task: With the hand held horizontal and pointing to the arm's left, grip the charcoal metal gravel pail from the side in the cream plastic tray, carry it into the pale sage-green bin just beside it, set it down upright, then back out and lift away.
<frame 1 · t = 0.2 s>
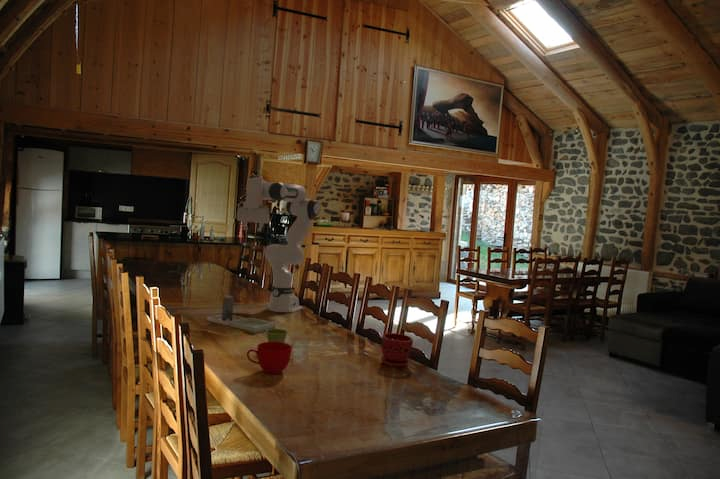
hand: (252, 230, 294), 48 cm above the table, tool pointing down, fingers open, 8 cm apart
plant pot 2: (395, 364, 232), on the table
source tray: (226, 322, 283), on the table
plant pot: (275, 351, 238), on the table
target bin: (252, 328, 275), on the table
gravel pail: (226, 320, 283), point 1 cm above the table, touching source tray
ceramic cup: (267, 372, 209), on the table
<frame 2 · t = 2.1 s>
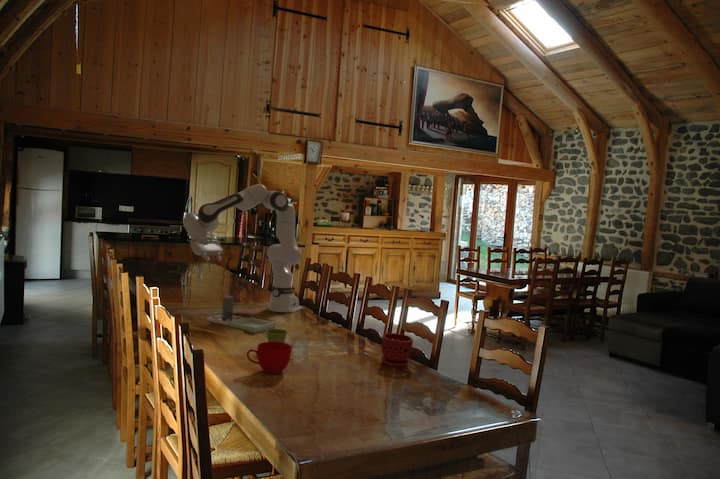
hand: (214, 260, 288), 31 cm above the table, tool tilted 45°, fingers open, 8 cm apart
nothing on the table moved.
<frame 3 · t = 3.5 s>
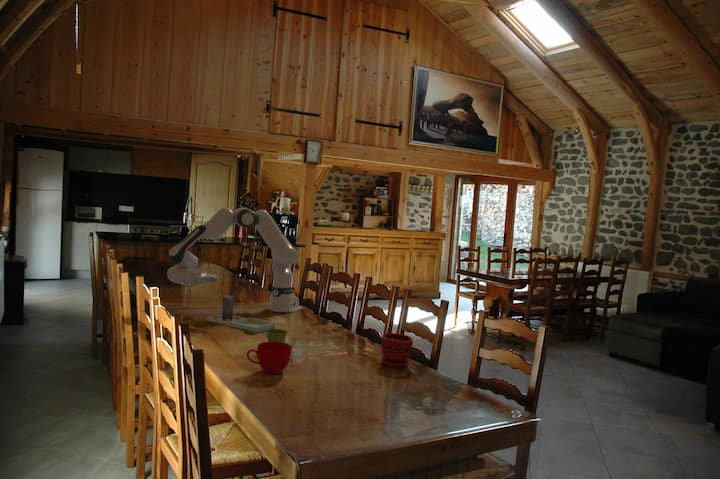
hand: (211, 281, 287), 20 cm above the table, tool horizontal, fingers open, 8 cm apart
nothing on the table moved.
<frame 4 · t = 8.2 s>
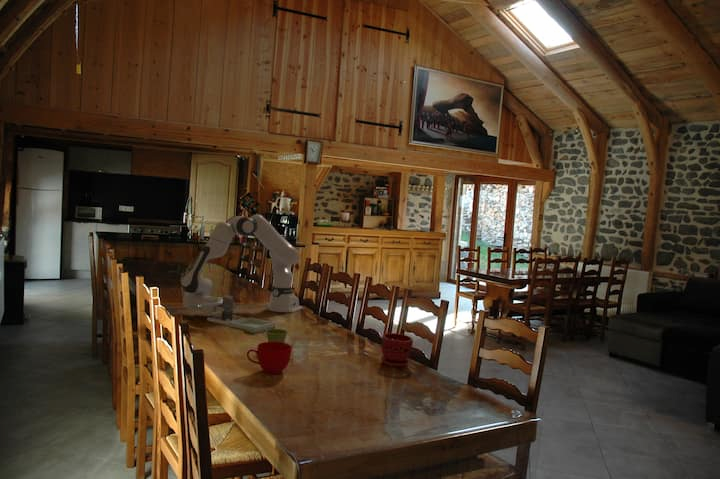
hand: (228, 308, 282), 8 cm above the table, tool horizontal, fingers closed on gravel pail, 5 cm apart
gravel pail: (226, 320, 283), point 1 cm above the table, touching gripper, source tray
everything else where it was.
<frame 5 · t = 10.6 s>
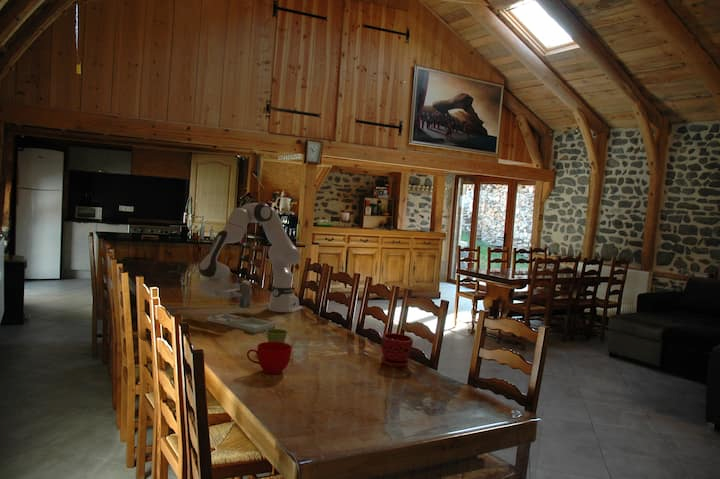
hand: (246, 294, 277), 17 cm above the table, tool horizontal, fingers closed on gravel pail, 5 cm apart
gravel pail: (244, 306, 278), point 10 cm above the table, touching gripper
everything else where it was.
when the fingers open (8 cm above the table, at t = 13.2 s): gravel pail stays where it is, resting on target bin.
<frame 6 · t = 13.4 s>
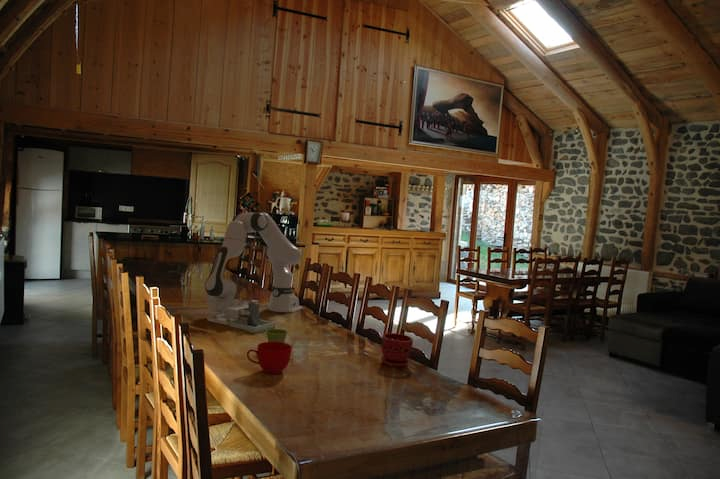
hand: (255, 312, 274), 8 cm above the table, tool horizontal, fingers open, 7 cm apart
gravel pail: (252, 326, 275), point 1 cm above the table, touching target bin
everything else where it was.
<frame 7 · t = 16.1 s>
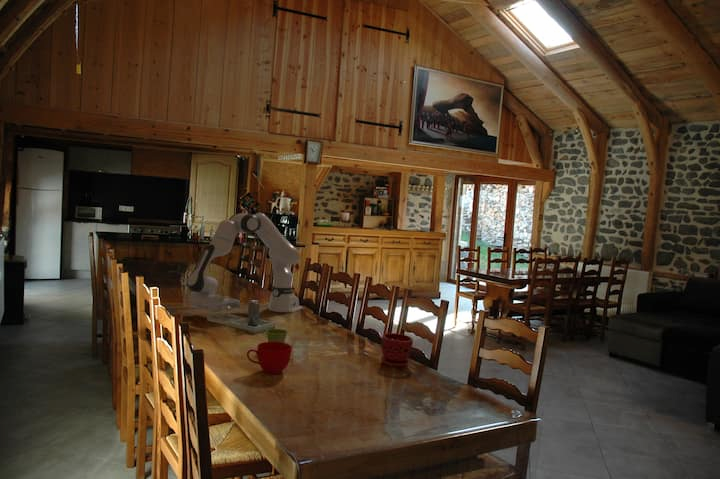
hand: (235, 307, 280), 9 cm above the table, tool horizontal, fingers open, 8 cm apart
nothing on the table moved.
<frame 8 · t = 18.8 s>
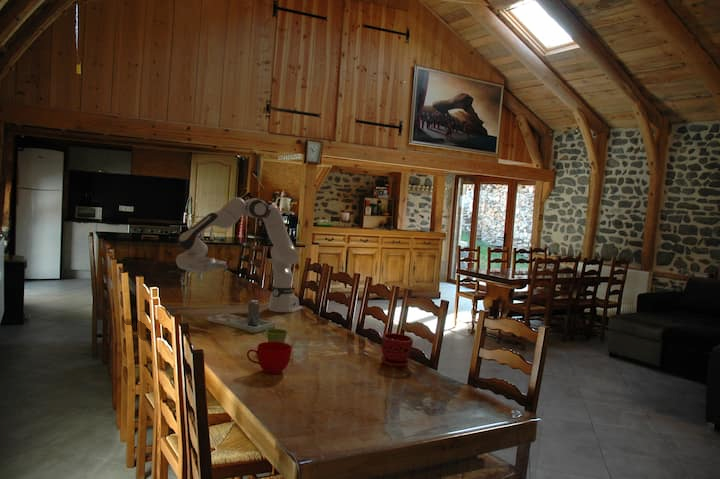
hand: (220, 267, 286), 28 cm above the table, tool horizontal, fingers open, 8 cm apart
nothing on the table moved.
at the end: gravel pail inside the target area on the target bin (0.0 cm from its centre), point 1.0 cm above the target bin's base; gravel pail tilted 0°; the gripper is holding nothing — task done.
